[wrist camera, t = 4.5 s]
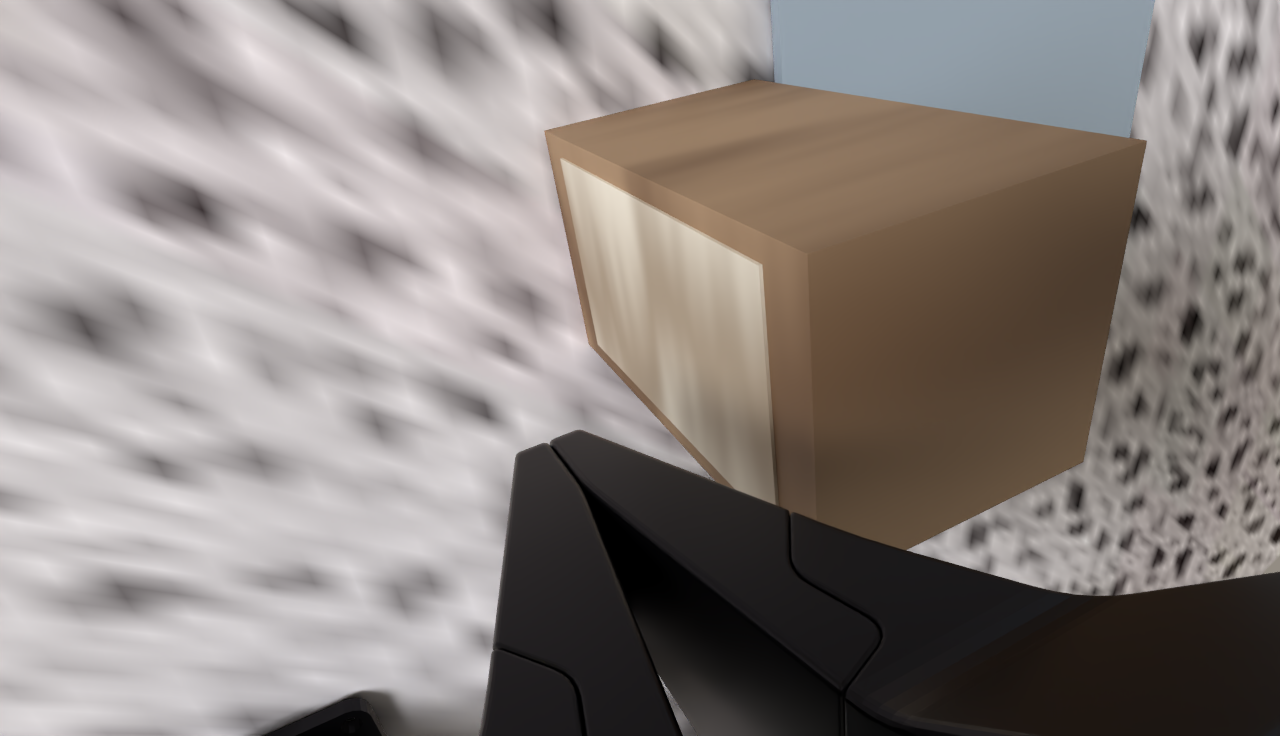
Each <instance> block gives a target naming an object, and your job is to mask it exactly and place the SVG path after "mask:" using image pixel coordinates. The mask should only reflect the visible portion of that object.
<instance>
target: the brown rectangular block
mask: <svg viewBox="0 0 1280 736" xmlns="http://www.w3.org/2000/svg"><path fill="white" fill-rule="evenodd" d="M545 136H546V141H547V145H548V150H549V155H550V160H551V165H552V169H553V174H554V179H555V184H556V189H557V193H558V198H559V203H560V208H561V212H562V217H563V222H564V227H565V232H566V236H567V241H568V246H569V251H570V256H571V260H572V265H573V270H574V275H575V280H576V284H577V289H578V294H579V299H580V304H581V308H582V313H583V318H584V323H585V327H586V332H587V337H588V342H589V345H590V346H591V347H592V348H593V349H594V350H595V351H596V352H597V353H598V354H599V355H600V357H601V358H602V359H603V360H604V361H605V362H606V363H607V364H608V365H609V366H610V367H611V368H612V370H613V371H614V372H615V373H616V374H617V375H618V376H619V377H620V378H621V379H622V380H623V381H624V383H625V384H626V385H627V386H628V387H629V388H630V389H631V390H632V391H633V392H634V393H635V394H636V396H637V397H638V398H639V399H640V400H641V401H642V402H643V403H644V404H645V405H646V406H647V407H648V409H649V410H650V411H651V412H652V413H653V414H654V415H655V416H656V417H657V418H658V419H659V420H660V422H661V423H662V424H663V425H664V426H665V427H666V428H667V429H668V430H669V431H670V432H671V433H672V435H673V436H674V437H675V438H676V439H677V440H678V441H679V442H680V443H681V444H682V445H683V446H684V448H685V449H686V450H687V451H688V452H689V453H690V454H691V455H692V456H693V457H694V458H695V459H696V461H697V462H698V463H699V464H700V465H701V466H702V467H703V468H704V469H705V470H706V471H707V472H708V473H709V475H710V476H711V477H712V478H713V479H714V480H715V481H716V482H718V483H720V484H723V485H725V486H728V487H730V488H733V489H736V490H738V491H741V492H743V493H746V494H749V495H751V496H754V497H756V498H759V499H762V500H764V501H767V502H769V503H772V504H774V505H777V506H780V507H782V508H785V509H787V510H789V512H790V514H791V513H793V512H796V513H798V514H801V515H804V516H806V517H809V518H811V519H814V520H817V521H819V522H822V523H825V524H827V525H830V526H833V527H836V528H839V529H841V530H844V531H847V532H850V533H853V534H855V535H858V536H861V537H864V538H867V539H870V540H874V541H877V542H880V543H884V544H887V545H890V546H893V547H897V548H900V549H903V550H907V549H909V548H911V547H913V546H915V545H917V544H919V543H921V542H923V541H925V540H927V539H929V538H931V537H933V536H935V535H937V534H939V533H941V532H943V531H945V530H947V529H949V528H951V527H954V526H956V525H958V524H960V523H962V522H964V521H966V520H968V519H970V518H972V517H974V516H976V515H978V514H980V513H982V512H984V511H986V510H988V509H990V508H992V507H994V506H996V505H998V504H1000V503H1002V502H1004V501H1006V500H1008V499H1010V498H1012V497H1014V496H1016V495H1018V494H1020V493H1022V492H1024V491H1026V490H1028V489H1030V488H1032V487H1034V486H1036V485H1038V484H1040V483H1042V482H1044V481H1046V480H1048V479H1050V478H1052V477H1054V476H1056V475H1058V474H1060V473H1062V472H1064V471H1066V470H1068V469H1070V468H1072V467H1074V466H1076V465H1078V464H1080V463H1082V462H1083V460H1084V455H1085V450H1086V445H1087V440H1088V435H1089V430H1090V425H1091V420H1092V415H1093V410H1094V405H1095V400H1096V395H1097V390H1098V385H1099V380H1100V375H1101V370H1102V365H1103V360H1104V354H1105V349H1106V344H1107V339H1108V334H1109V329H1110V324H1111V319H1112V314H1113V309H1114V304H1115V299H1116V294H1117V289H1118V284H1119V279H1120V274H1121V269H1122V264H1123V259H1124V254H1125V249H1126V244H1127V238H1128V233H1129V228H1130V223H1131V218H1132V213H1133V208H1134V203H1135V198H1136V193H1137V188H1138V183H1139V178H1140V173H1141V168H1142V163H1143V158H1144V153H1145V148H1146V143H1147V141H1145V140H1139V139H1133V138H1126V137H1120V136H1113V135H1107V134H1101V133H1094V132H1088V131H1081V130H1075V129H1069V128H1062V127H1056V126H1049V125H1043V124H1037V123H1030V122H1024V121H1017V120H1011V119H1005V118H998V117H992V116H985V115H979V114H973V113H966V112H960V111H953V110H947V109H941V108H934V107H928V106H921V105H915V104H909V103H902V102H896V101H889V100H883V99H877V98H870V97H864V96H857V95H851V94H845V93H838V92H832V91H825V90H819V89H813V88H806V87H800V86H793V85H787V84H781V83H774V82H768V81H761V80H755V79H754V80H750V81H746V82H741V83H737V84H733V85H729V86H725V87H721V88H717V89H713V90H709V91H705V92H701V93H696V94H692V95H688V96H684V97H680V98H676V99H672V100H668V101H664V102H660V103H656V104H652V105H647V106H643V107H639V108H635V109H631V110H627V111H623V112H619V113H615V114H611V115H607V116H603V117H598V118H594V119H590V120H586V121H582V122H578V123H574V124H570V125H566V126H562V127H558V128H554V129H549V130H545Z"/></svg>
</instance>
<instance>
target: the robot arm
mask: <svg viewBox="0 0 1280 736" xmlns="http://www.w3.org/2000/svg"><path fill="white" fill-rule="evenodd" d="M493 650H494V651H493V652H492V654H491V661H490V669H489V678H488V685H487V691H486V697H485V703H484V710H483V716H482V722H481V728H480V732H479V736H683V735H682V732H681V730H680V728H679V725H678V723H677V720H676V718H675V715H674V713H673V710H672V708H671V705H670V703H669V700H668V698H667V695H666V693H665V690H664V688H663V685H662V683H661V680H660V678H659V676H660V677H661V679H662V681H663V682H664V684H665V685H666V687H667V688H668V690H669V691H670V693H671V694H672V696H673V697H674V699H675V700H676V702H677V703H678V705H679V707H680V708H681V710H682V711H683V713H684V714H685V716H686V717H687V719H688V720H689V722H690V723H691V725H692V726H693V728H694V730H695V731H696V733H697V734H698V736H1280V572H1275V573H1269V574H1262V575H1255V576H1248V577H1242V578H1235V579H1228V580H1222V581H1215V582H1208V583H1201V584H1195V585H1188V586H1181V587H1175V588H1168V589H1161V590H1154V591H1148V592H1141V593H1134V594H1126V595H1117V596H1087V595H1074V594H1068V593H1062V592H1056V591H1051V590H1046V589H1042V588H1038V587H1034V586H1030V585H1027V584H1023V583H1019V582H1016V581H1012V580H1009V579H1005V578H1002V577H998V576H995V575H991V574H988V573H984V572H980V571H977V570H973V569H970V568H966V567H963V566H959V565H956V564H952V563H949V562H945V561H941V560H938V559H934V558H931V557H927V556H924V555H920V554H917V553H913V552H910V551H906V550H903V549H900V548H897V547H893V546H890V545H887V544H884V543H880V542H877V541H874V540H870V539H867V538H864V537H861V536H858V535H855V534H853V533H850V532H847V531H844V530H841V529H839V528H836V527H833V526H830V525H827V524H825V523H822V522H819V521H817V520H814V519H811V518H809V517H806V516H804V515H801V514H798V513H796V512H793V513H791V514H790V512H789V510H787V509H785V508H782V507H780V506H777V505H774V504H772V503H769V502H767V501H764V500H762V499H759V498H756V497H754V496H751V495H749V494H746V493H743V492H741V491H738V490H736V489H733V488H730V487H728V486H725V485H723V484H720V483H718V482H715V481H712V480H710V479H707V478H705V477H702V476H699V475H697V474H694V473H692V472H689V471H686V470H684V469H681V468H679V467H676V466H674V465H671V464H668V463H666V462H663V461H661V460H658V459H655V458H653V457H650V456H648V455H645V454H642V453H640V452H637V451H635V450H632V449H630V448H627V447H624V446H622V445H619V444H617V443H614V442H611V441H609V440H606V439H604V438H601V437H598V436H596V435H593V434H591V433H588V432H586V431H583V430H575V431H573V432H570V433H568V434H565V435H562V436H560V437H557V438H555V439H553V440H552V441H551V442H550V445H549V444H547V443H542V444H539V445H537V446H534V447H531V448H529V449H526V450H524V451H521V452H519V453H518V454H517V455H516V458H515V465H514V473H513V482H512V490H511V498H510V507H509V515H508V523H507V532H506V540H505V548H504V556H503V565H502V573H501V581H500V590H499V598H498V606H497V615H496V623H495V631H494V640H493ZM658 674H659V675H658ZM351 718H355V719H353V720H349V721H346V720H348V719H351ZM266 736H387V735H386V733H385V731H384V730H383V728H382V726H381V724H380V722H379V720H378V718H377V716H376V714H375V713H374V711H373V709H372V707H371V705H370V704H369V703H368V702H367V701H366V700H364V699H361V698H351V699H348V700H344V701H342V702H340V703H337V704H335V705H333V706H331V707H328V708H326V709H324V710H322V711H319V712H317V713H315V714H313V715H311V716H308V717H306V718H304V719H302V720H299V721H297V722H295V723H293V724H290V725H288V726H286V727H284V728H281V729H279V730H277V731H275V732H273V733H270V734H268V735H266Z"/></svg>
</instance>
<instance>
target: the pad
mask: <svg viewBox="0 0 1280 736" xmlns="http://www.w3.org/2000/svg"><path fill="white" fill-rule="evenodd" d="M1154 3H1155V0H771V19H772V38H773V58H774V77H775V83H781V84H787V85H793V86H800V87H806V88H813V89H819V90H825V91H832V92H838V93H845V94H851V95H857V96H864V97H870V98H877V99H883V100H889V101H896V102H902V103H909V104H915V105H921V106H928V107H934V108H941V109H947V110H953V111H960V112H966V113H973V114H979V115H985V116H992V117H998V118H1005V119H1011V120H1017V121H1024V122H1030V123H1037V124H1043V125H1049V126H1056V127H1062V128H1069V129H1075V130H1081V131H1088V132H1094V133H1101V134H1107V135H1113V136H1120V137H1126V138H1129V137H1130V132H1131V126H1132V121H1133V115H1134V110H1135V105H1136V99H1137V94H1138V89H1139V83H1140V78H1141V72H1142V67H1143V62H1144V56H1145V51H1146V46H1147V40H1148V35H1149V30H1150V24H1151V19H1152V13H1153V8H1154Z"/></svg>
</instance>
